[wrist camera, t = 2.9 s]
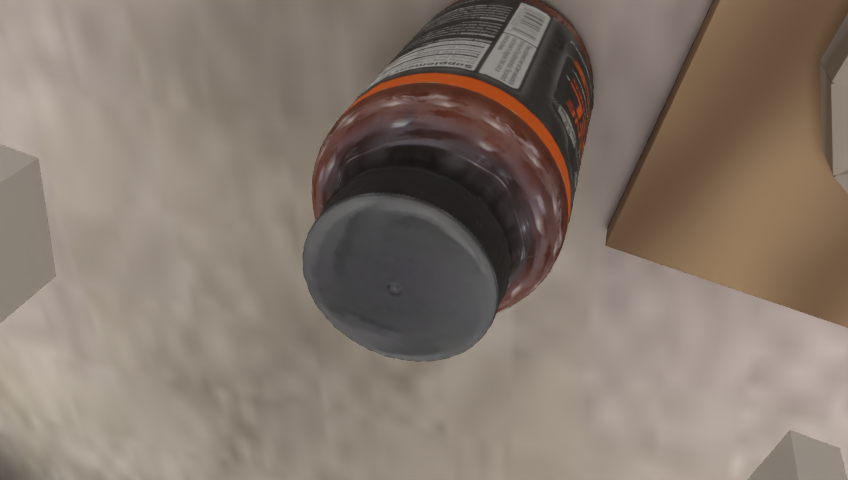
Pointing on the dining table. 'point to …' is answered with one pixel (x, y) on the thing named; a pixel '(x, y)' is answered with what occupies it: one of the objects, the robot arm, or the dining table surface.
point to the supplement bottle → (450, 180)
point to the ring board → (752, 158)
